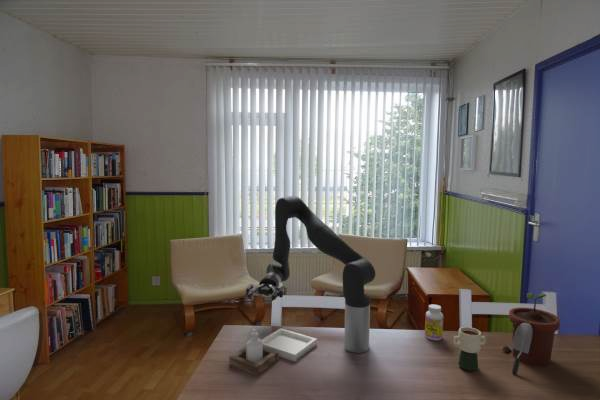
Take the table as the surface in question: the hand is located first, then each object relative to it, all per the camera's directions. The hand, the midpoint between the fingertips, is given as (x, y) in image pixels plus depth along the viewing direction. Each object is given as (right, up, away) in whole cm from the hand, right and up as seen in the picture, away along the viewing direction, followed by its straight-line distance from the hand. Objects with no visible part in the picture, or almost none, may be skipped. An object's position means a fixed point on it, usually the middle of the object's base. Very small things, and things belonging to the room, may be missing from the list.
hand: (261, 297), depth 148 cm
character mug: (+72, -21, -11) cm, 76 cm away
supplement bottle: (+68, -19, +12) cm, 71 cm away
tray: (+10, -19, +3) cm, 22 cm away
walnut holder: (-2, -20, -9) cm, 22 cm away
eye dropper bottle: (-1, -21, -9) cm, 23 cm away
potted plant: (+95, -21, -6) cm, 97 cm away
